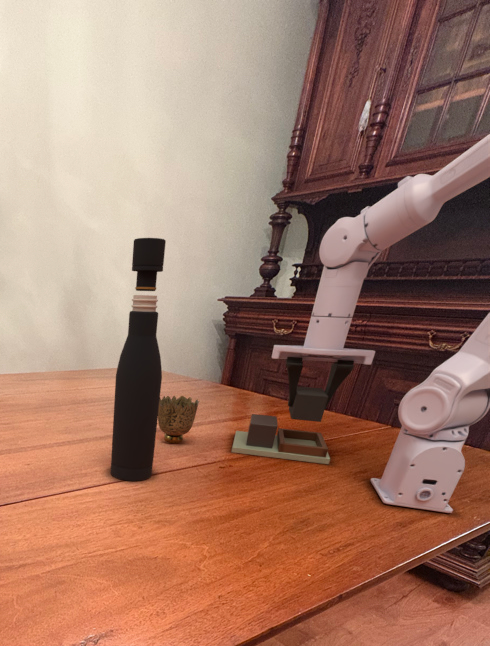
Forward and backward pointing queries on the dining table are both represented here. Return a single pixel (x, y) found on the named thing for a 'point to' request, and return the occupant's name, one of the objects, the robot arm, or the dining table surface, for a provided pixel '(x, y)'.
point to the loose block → (308, 404)
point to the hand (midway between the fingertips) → (306, 406)
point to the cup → (176, 417)
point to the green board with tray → (280, 442)
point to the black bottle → (139, 372)
